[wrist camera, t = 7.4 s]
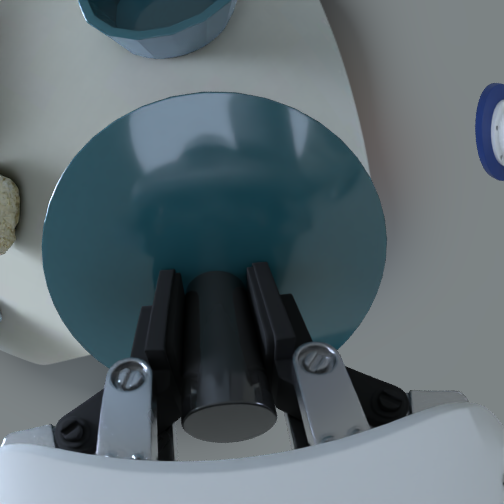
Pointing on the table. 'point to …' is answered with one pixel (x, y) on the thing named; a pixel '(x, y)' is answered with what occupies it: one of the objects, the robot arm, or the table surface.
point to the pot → (159, 24)
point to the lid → (213, 241)
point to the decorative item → (8, 213)
